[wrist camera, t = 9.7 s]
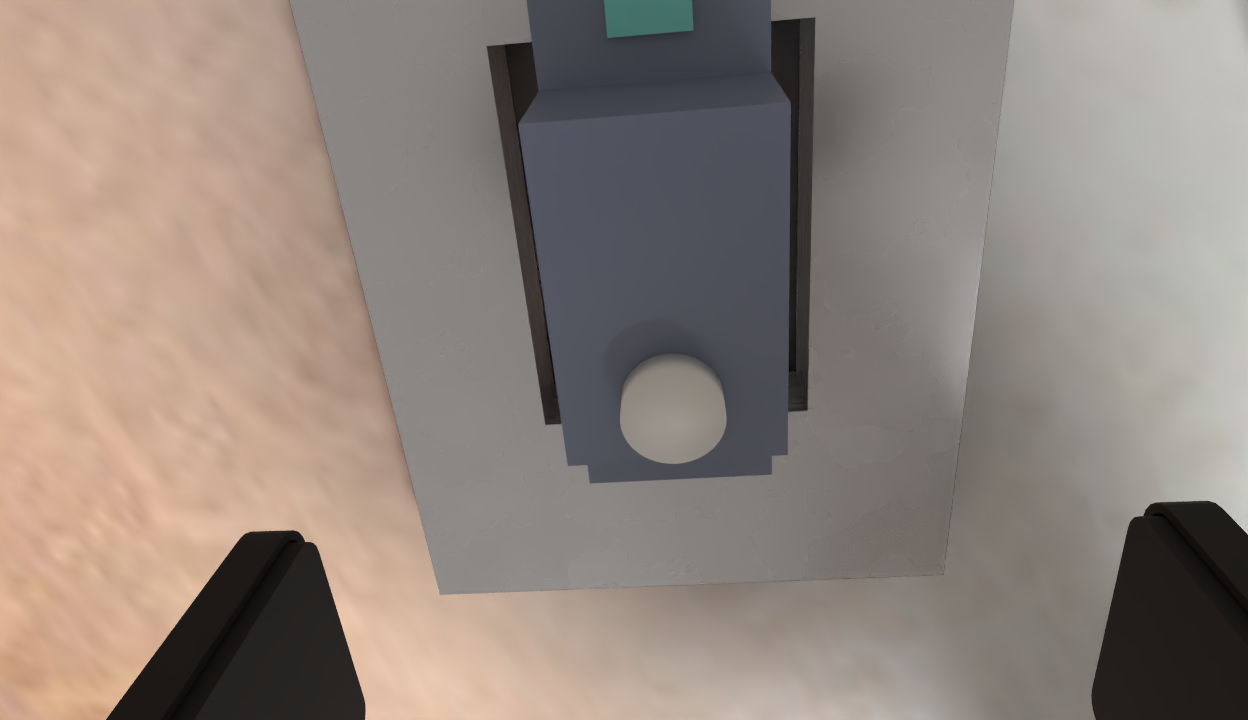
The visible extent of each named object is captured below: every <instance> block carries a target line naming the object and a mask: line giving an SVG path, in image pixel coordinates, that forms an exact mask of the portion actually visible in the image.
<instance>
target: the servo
mask: <svg viewBox="0 0 1248 720" xmlns="http://www.w3.org/2000/svg"><path fill="white" fill-rule="evenodd" d="M526 1H527V9H528V16H529V24H530V32H531V39H532V47H533V54H534V62H535V70H536V77H537V85H538V93H537V95H536V96H535V98H534V100H533V101H532V103H531V104H530V106H529V108H528V109H527V111H526V113H525V114H524V116H523V117H522V119H521V121H520V122H519V124H518V126H519V133H520V140H521V147H522V154H523V161H524V168H525V174H526V181H527V188H528V195H529V202H530V209H531V216H532V223H533V230H534V236H535V243H536V250H537V257H538V264H539V271H540V278H541V285H542V292H543V298H544V305H545V312H546V319H547V326H548V333H549V340H550V347H551V354H552V361H553V367H554V374H555V381H556V388H557V395H558V402H559V409H560V416H561V423H562V429H563V436H564V443H565V450H566V457H567V464H568V466H580V465H587V466H588V473H589V481H590V484H591V483H612V482H633V481H653V480H674V479H695V478H715V477H736V476H757V475H772V456H780V455H788V371H789V260H790V150H791V102H790V100H789V99H788V97H787V96H786V94H785V93H784V91H783V90H782V88H781V87H780V85H779V84H778V82H777V81H776V79H775V78H774V76H773V75H772V73H771V0H526Z"/></svg>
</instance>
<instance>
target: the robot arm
mask: <svg viewBox="0 0 1248 720" xmlns="http://www.w3.org/2000/svg"><path fill="white" fill-rule="evenodd" d="M1092 706H1093V711H1094V715H1095V718H1096V720H1248V535H1247V534H1246V532H1245V531H1244V530H1243V529H1242V528H1241V527H1240V526H1239V525H1238V524H1237V523H1236V522H1235V521H1234V520H1233V519H1232V518H1231V517H1230V516H1229V515H1228V514H1227V513H1226V512H1225V511H1224V510H1223V509H1222V508H1221V507H1220V506H1218V505H1217V504H1216V503H1214V502H1210V501H1191V502H1160V503H1154V504H1150V506H1149V507H1148V508H1147V509H1146V510H1145V513H1144V516H1140V517H1135V518H1133V519H1132V520H1131V522H1130V524H1129V527H1128V531H1127V535H1126V540H1125V544H1124V549H1123V553H1122V558H1121V562H1120V567H1119V571H1118V576H1117V580H1116V584H1115V589H1114V593H1113V598H1112V602H1111V607H1110V611H1109V616H1108V620H1107V625H1106V629H1105V634H1104V638H1103V643H1102V647H1101V652H1100V656H1099V661H1098V665H1097V670H1096V674H1095V679H1094V683H1093V688H1092ZM106 720H365V701H364V697H363V693H362V690H361V687H360V684H359V681H358V677H357V674H356V671H355V668H354V664H353V661H352V658H351V655H350V651H349V648H348V645H347V642H346V638H345V635H344V632H343V629H342V625H341V622H340V619H339V616H338V612H337V609H336V606H335V603H334V599H333V596H332V593H331V590H330V586H329V583H328V580H327V577H326V573H325V570H324V567H323V564H322V560H321V557H320V554H319V551H318V549H317V547H316V545H315V544H314V543H311V542H305V540H304V538H303V536H302V535H301V534H300V533H299V532H297V531H293V530H291V531H260V532H249V533H246V534H244V535H243V536H242V537H241V538H240V539H239V541H238V542H237V543H236V545H235V546H234V547H233V549H232V550H231V551H230V553H229V554H228V556H227V557H226V558H225V560H224V561H223V562H222V564H221V565H220V566H219V568H218V569H217V570H216V572H215V573H214V574H213V576H212V577H211V578H210V580H209V581H208V583H207V584H206V585H205V587H204V588H203V589H202V591H201V592H200V593H199V595H198V596H197V597H196V599H195V600H194V601H193V603H192V604H191V605H190V607H189V608H188V610H187V611H186V612H185V614H184V615H183V616H182V618H181V619H180V620H179V622H178V623H177V624H176V626H175V627H174V628H173V630H172V631H171V632H170V634H169V635H168V637H167V638H166V639H165V641H164V642H163V643H162V645H161V646H160V647H159V649H158V650H157V651H156V653H155V654H154V655H153V657H152V658H151V659H150V661H149V662H148V664H147V665H146V666H145V668H144V669H143V670H142V672H141V673H140V674H139V676H138V677H137V678H136V680H135V681H134V682H133V684H132V685H131V686H130V688H129V689H128V691H127V692H126V693H125V695H124V696H123V697H122V699H121V700H120V701H119V703H118V704H117V705H116V707H115V708H114V709H113V711H112V712H111V714H110V715H109V716H108V718H107V719H106Z"/></svg>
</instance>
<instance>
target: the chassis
mask: <svg viewBox="0 0 1248 720" xmlns="http://www.w3.org/2000/svg"><path fill="white" fill-rule="evenodd" d="M289 1H290V5H291V9H292V13H293V17H294V20H295V24H296V28H297V32H298V36H299V40H300V44H301V48H302V52H303V56H304V60H305V64H306V68H307V72H308V76H309V80H310V83H311V87H312V91H313V95H314V99H315V103H316V107H317V111H318V115H319V119H320V123H321V127H322V131H323V135H324V139H325V143H326V147H327V150H328V154H329V158H330V162H331V166H332V170H333V174H334V178H335V182H336V186H337V190H338V194H339V198H340V202H341V206H342V210H343V214H344V217H345V221H346V225H347V229H348V233H349V237H350V241H351V245H352V249H353V253H354V257H355V261H356V265H357V269H358V273H359V277H360V281H361V284H362V288H363V292H364V296H365V300H366V304H367V308H368V312H369V316H370V320H371V324H372V328H373V332H374V336H375V340H376V344H377V348H378V351H379V355H380V359H381V363H382V367H383V371H384V375H385V379H386V383H387V387H388V391H389V395H390V399H391V403H392V407H393V411H394V415H395V418H396V422H397V426H398V430H399V434H400V438H401V442H402V446H403V450H404V454H405V458H406V462H407V466H408V470H409V474H410V478H411V482H412V485H413V489H414V493H415V497H416V501H417V505H418V509H419V513H420V517H421V521H422V525H423V529H424V533H425V537H426V541H427V545H428V549H429V552H430V556H431V560H432V564H433V568H434V572H435V576H436V580H437V584H438V588H439V592H440V595H445V594H470V593H495V592H521V591H546V590H572V589H597V588H622V587H648V586H673V585H698V584H724V583H749V582H774V581H800V580H825V579H850V578H876V577H901V576H926V575H943V574H944V566H945V558H946V550H947V542H948V534H949V525H950V517H951V509H952V501H953V493H954V485H955V477H956V469H957V460H958V452H959V444H960V436H961V428H962V420H963V412H964V404H965V395H966V387H967V379H968V371H969V363H970V355H971V347H972V338H973V330H974V322H975V314H976V306H977V298H978V290H979V282H980V273H981V265H982V257H983V249H984V241H985V233H986V225H987V217H988V208H989V200H990V192H991V184H992V176H993V168H994V160H995V151H996V143H997V135H998V127H999V119H1000V111H1001V103H1002V95H1003V86H1004V78H1005V70H1006V62H1007V54H1008V46H1009V38H1010V30H1011V21H1012V13H1013V5H1014V0H771V21H778V20H789V19H800V62H799V147H798V232H797V316H796V371H790V372H788V455H780V456H772V475H757V476H736V477H715V478H695V479H674V480H653V481H633V482H612V483H591V484H590V481H589V473H588V466H587V465H580V466H568V464H567V457H566V450H565V443H564V436H563V429H562V423H561V416H560V409H559V402H558V395H557V388H556V385H554V382H553V375H552V368H551V361H550V354H549V347H548V340H547V333H546V326H545V320H544V313H543V306H542V299H541V292H540V285H539V278H538V271H537V265H536V258H535V251H534V244H533V237H532V230H531V223H530V216H529V209H528V203H527V196H526V189H525V182H524V175H523V168H522V161H521V154H520V147H519V141H518V134H517V127H516V120H515V113H514V106H513V99H512V92H511V86H510V79H509V72H508V65H507V58H506V51H505V44H515V43H527V42H532V39H531V32H530V24H529V16H528V9H527V1H526V0H289Z"/></svg>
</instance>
